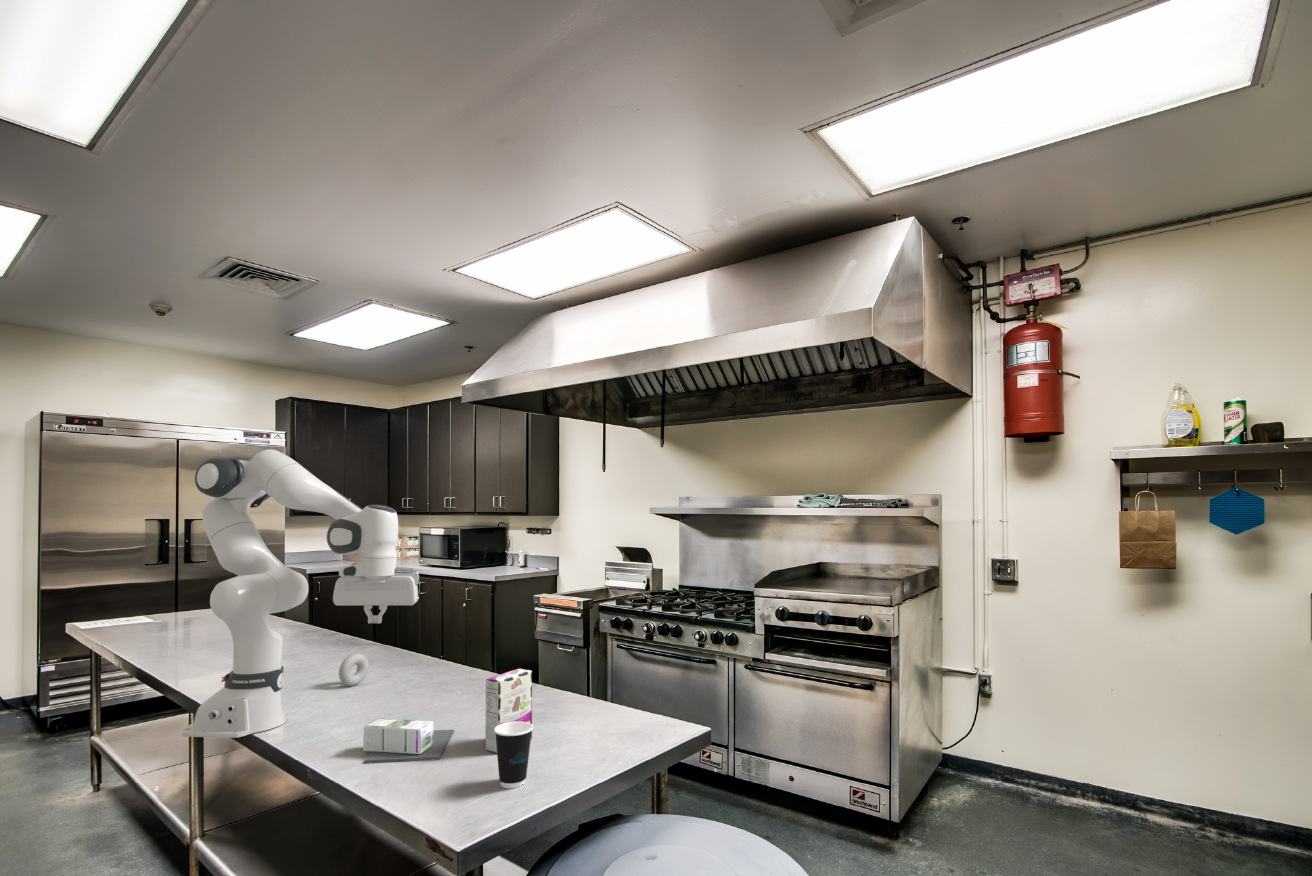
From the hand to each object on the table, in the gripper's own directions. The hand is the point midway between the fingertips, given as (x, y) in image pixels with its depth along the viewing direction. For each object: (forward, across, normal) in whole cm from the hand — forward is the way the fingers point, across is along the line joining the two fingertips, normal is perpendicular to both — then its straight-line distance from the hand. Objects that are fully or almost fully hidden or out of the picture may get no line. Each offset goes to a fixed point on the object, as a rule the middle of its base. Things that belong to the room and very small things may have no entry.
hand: (374, 623), depth 166 cm
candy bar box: (+26, -36, +13) cm, 47 cm away
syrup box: (+23, -4, +12) cm, 26 cm away
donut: (+28, +19, -45) cm, 56 cm away
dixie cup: (+26, -39, +35) cm, 59 cm away
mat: (+26, -14, +12) cm, 32 cm away
